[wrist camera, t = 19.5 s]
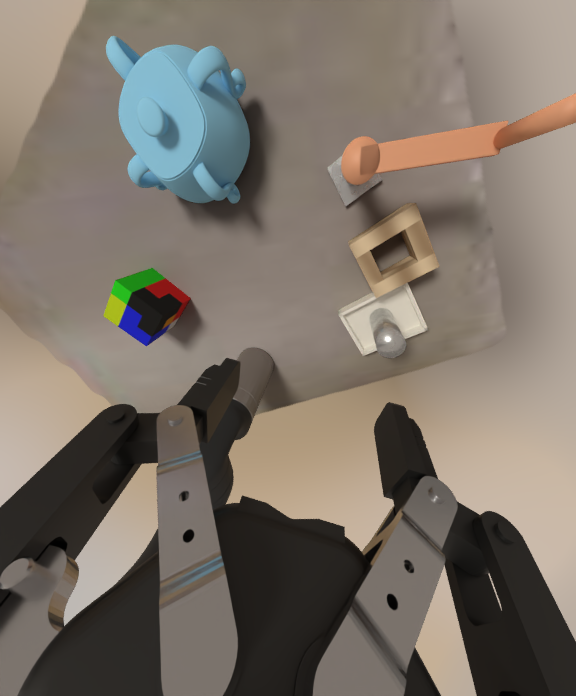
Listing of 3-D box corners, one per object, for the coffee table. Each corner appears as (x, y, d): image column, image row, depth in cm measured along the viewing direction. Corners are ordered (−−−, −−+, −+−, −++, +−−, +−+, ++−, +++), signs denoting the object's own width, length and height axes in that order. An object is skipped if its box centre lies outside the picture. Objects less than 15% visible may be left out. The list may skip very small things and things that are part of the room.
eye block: (372, 289, 44) (376, 298, 40) (348, 241, 40) (349, 245, 36) (428, 259, 39) (439, 266, 35) (407, 203, 36) (415, 203, 32)
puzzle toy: (174, 325, 58) (146, 346, 49) (138, 299, 55) (103, 316, 47) (190, 298, 53) (162, 315, 44) (152, 267, 50) (115, 280, 42)
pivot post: (345, 206, 38) (347, 206, 28) (327, 168, 36) (322, 156, 26) (381, 180, 35) (396, 171, 26) (364, 138, 33) (373, 112, 24)
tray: (362, 350, 51) (363, 356, 49) (338, 309, 47) (338, 314, 45) (424, 324, 45) (428, 329, 43) (403, 276, 42) (406, 279, 40)
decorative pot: (246, 216, 41) (211, 220, 30) (162, 188, 42) (96, 182, 30) (265, 88, 32) (226, 26, 21) (158, 53, 33) (61, -28, 21)
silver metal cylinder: (374, 331, 47) (383, 361, 38) (365, 314, 46) (372, 341, 37) (396, 321, 46) (410, 351, 36) (386, 303, 44) (399, 329, 35)
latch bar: (498, 164, 24) (574, 145, 16) (341, 187, 27) (341, 180, 19) (513, 111, 22) (610, 59, 14) (341, 142, 25) (341, 115, 17)
